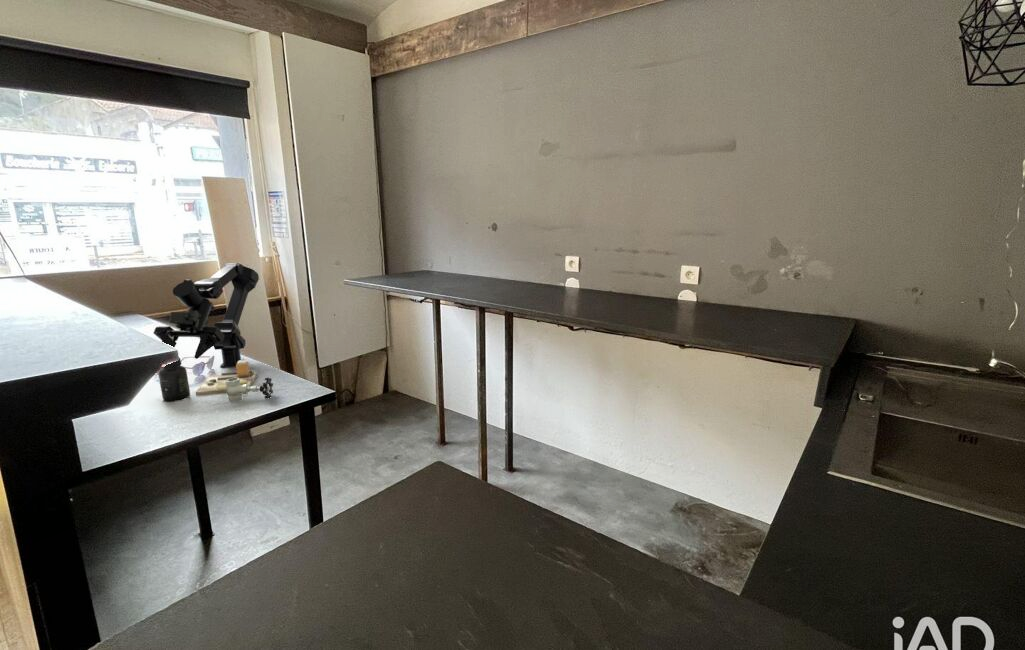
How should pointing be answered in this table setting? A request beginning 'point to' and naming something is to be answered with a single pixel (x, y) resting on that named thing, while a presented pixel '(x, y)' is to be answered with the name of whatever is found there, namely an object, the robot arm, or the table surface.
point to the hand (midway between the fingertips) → (180, 358)
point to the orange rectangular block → (242, 368)
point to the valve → (246, 389)
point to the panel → (223, 383)
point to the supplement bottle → (174, 382)
